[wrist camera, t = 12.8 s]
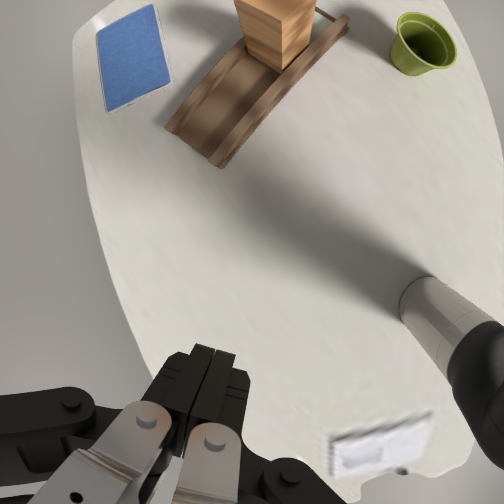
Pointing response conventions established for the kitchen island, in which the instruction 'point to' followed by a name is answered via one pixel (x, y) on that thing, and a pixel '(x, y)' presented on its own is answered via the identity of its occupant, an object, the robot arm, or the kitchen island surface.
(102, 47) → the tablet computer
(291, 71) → the chute
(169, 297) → the kitchen island surface
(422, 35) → the plant pot
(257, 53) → the block
